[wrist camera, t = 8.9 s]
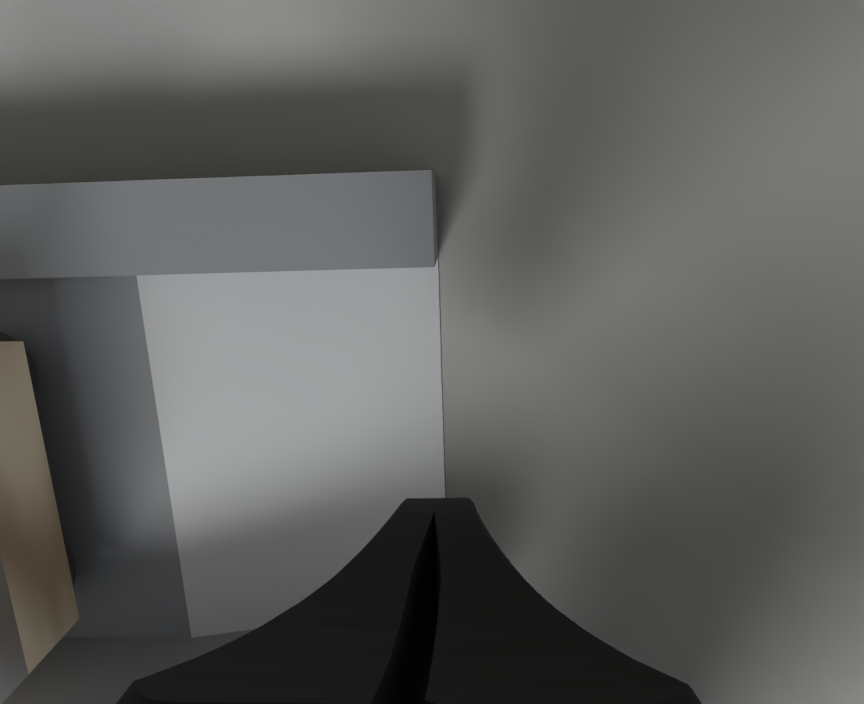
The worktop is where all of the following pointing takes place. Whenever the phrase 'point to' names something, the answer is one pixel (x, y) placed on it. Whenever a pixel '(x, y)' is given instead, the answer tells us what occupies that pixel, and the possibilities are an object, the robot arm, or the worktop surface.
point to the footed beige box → (28, 530)
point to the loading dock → (220, 397)
